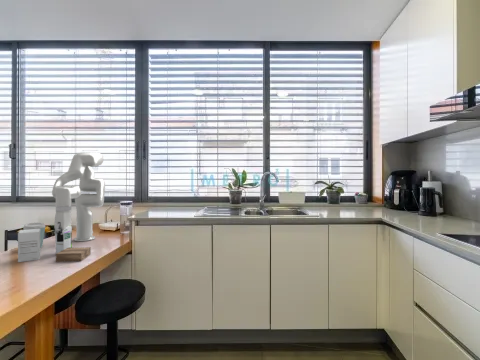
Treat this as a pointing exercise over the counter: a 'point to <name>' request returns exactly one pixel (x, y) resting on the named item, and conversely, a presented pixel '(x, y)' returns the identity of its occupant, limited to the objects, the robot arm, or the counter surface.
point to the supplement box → (28, 245)
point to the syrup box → (67, 240)
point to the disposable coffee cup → (36, 226)
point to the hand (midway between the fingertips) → (63, 239)
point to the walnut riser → (73, 254)
